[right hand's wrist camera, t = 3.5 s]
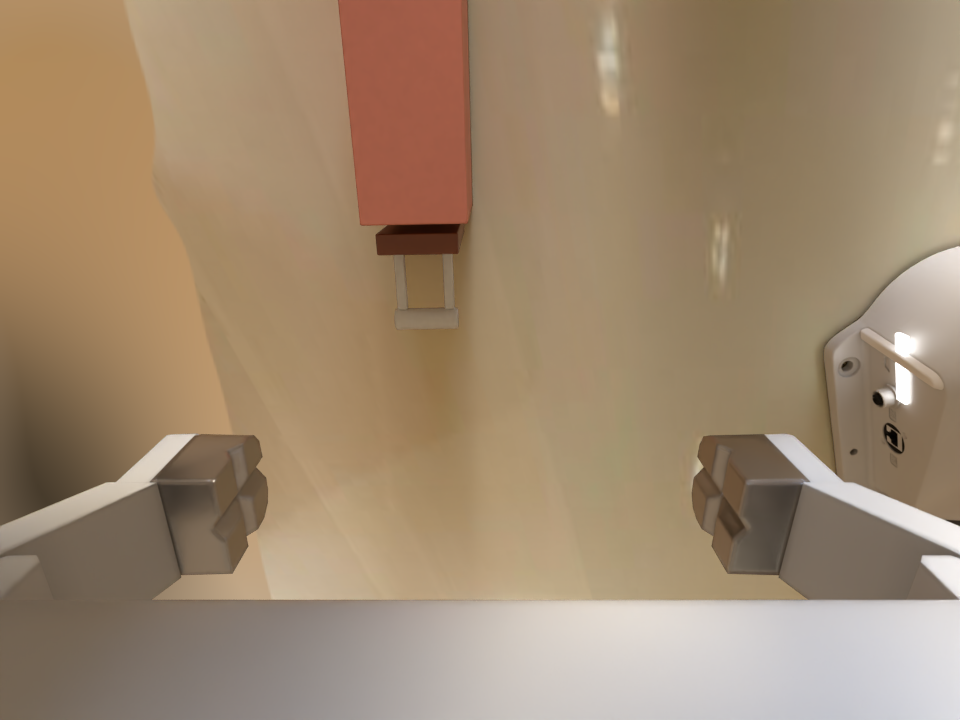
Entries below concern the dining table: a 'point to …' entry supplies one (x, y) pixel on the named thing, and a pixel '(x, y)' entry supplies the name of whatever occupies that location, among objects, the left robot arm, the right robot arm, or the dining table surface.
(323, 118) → the dining table surface
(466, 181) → the long terracotta box
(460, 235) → the drawer
